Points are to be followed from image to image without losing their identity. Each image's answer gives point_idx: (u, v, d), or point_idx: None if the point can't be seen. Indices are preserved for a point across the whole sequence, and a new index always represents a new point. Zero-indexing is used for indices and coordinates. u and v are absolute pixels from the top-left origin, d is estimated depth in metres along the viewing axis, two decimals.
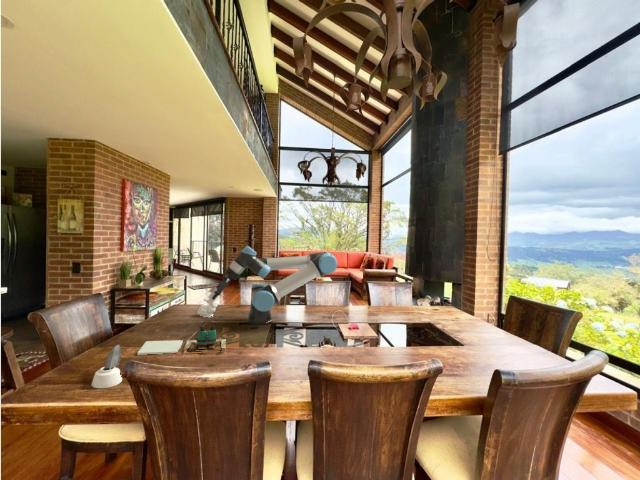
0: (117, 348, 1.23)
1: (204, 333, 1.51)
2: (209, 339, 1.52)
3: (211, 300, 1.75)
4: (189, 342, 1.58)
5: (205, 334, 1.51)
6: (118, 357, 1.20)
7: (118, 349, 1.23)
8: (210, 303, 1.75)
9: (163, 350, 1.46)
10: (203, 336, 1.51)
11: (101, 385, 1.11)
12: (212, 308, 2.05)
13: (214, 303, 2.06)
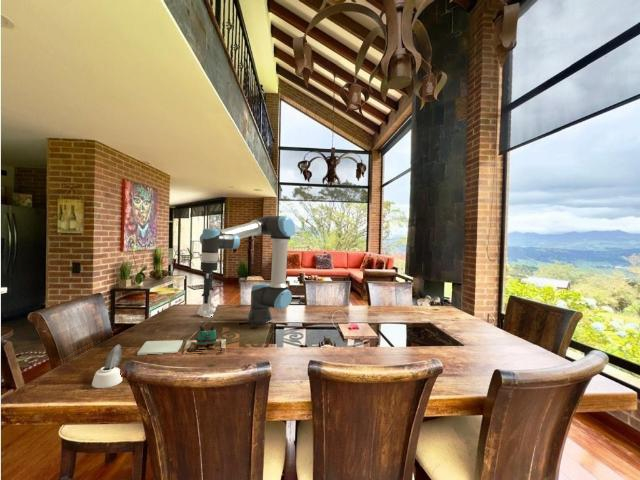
0: (117, 348, 1.23)
1: (204, 333, 1.51)
2: (209, 339, 1.52)
3: (205, 305, 1.48)
4: (189, 342, 1.58)
5: (205, 334, 1.51)
6: (119, 357, 1.20)
7: (118, 349, 1.23)
8: (207, 308, 1.48)
9: (163, 350, 1.46)
10: (203, 336, 1.51)
11: (101, 385, 1.12)
12: (212, 308, 2.05)
13: (214, 303, 2.06)
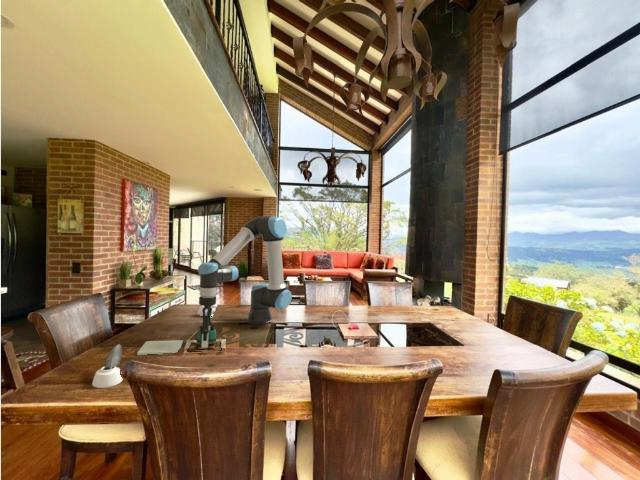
0: (118, 348, 1.23)
1: None
2: (209, 339, 1.52)
3: (204, 342, 1.49)
4: (189, 342, 1.58)
5: None
6: (119, 357, 1.20)
7: (119, 349, 1.23)
8: (206, 345, 1.50)
9: (163, 350, 1.46)
10: None
11: (101, 384, 1.12)
12: (212, 308, 2.05)
13: None
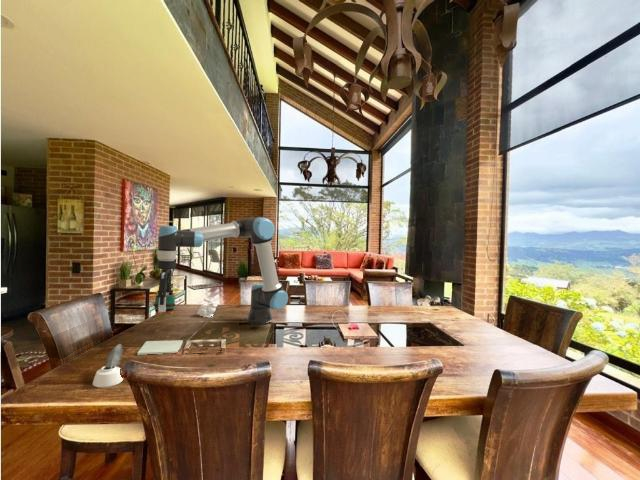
0: (118, 347, 1.23)
1: None
2: (167, 304, 1.46)
3: (161, 306, 1.44)
4: (189, 342, 1.58)
5: None
6: (119, 357, 1.20)
7: (119, 348, 1.23)
8: (163, 310, 1.44)
9: (163, 350, 1.46)
10: None
11: (102, 384, 1.12)
12: (212, 308, 2.05)
13: (214, 303, 2.06)
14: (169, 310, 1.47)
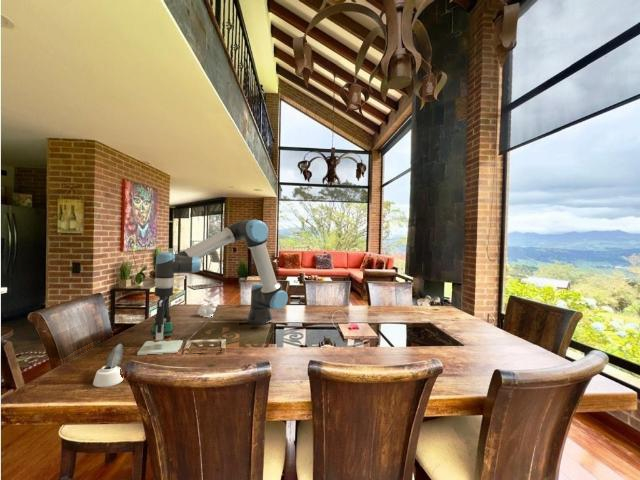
0: (119, 347, 1.23)
1: None
2: (164, 331, 1.47)
3: (159, 334, 1.44)
4: (189, 342, 1.58)
5: None
6: (120, 357, 1.21)
7: (120, 348, 1.23)
8: (160, 338, 1.45)
9: (163, 350, 1.46)
10: None
11: (102, 384, 1.12)
12: (212, 308, 2.05)
13: (214, 303, 2.06)
14: (167, 337, 1.47)
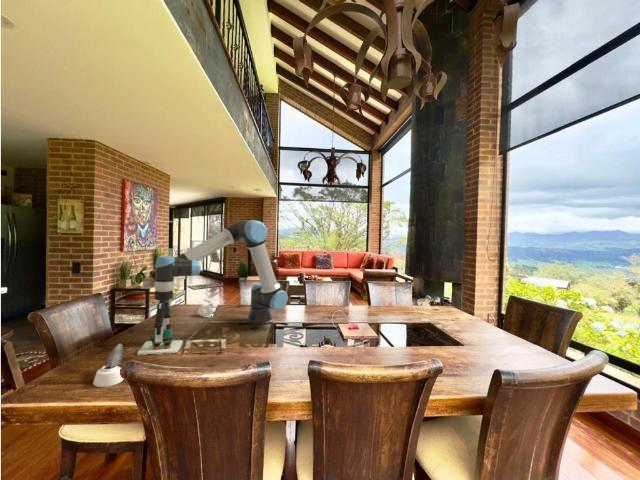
0: (119, 347, 1.24)
1: None
2: (164, 338, 1.47)
3: (158, 336, 1.43)
4: (189, 342, 1.58)
5: None
6: (120, 356, 1.21)
7: (120, 348, 1.24)
8: (159, 340, 1.43)
9: (163, 350, 1.46)
10: None
11: (102, 384, 1.12)
12: (212, 308, 2.05)
13: (214, 303, 2.06)
14: (166, 344, 1.48)
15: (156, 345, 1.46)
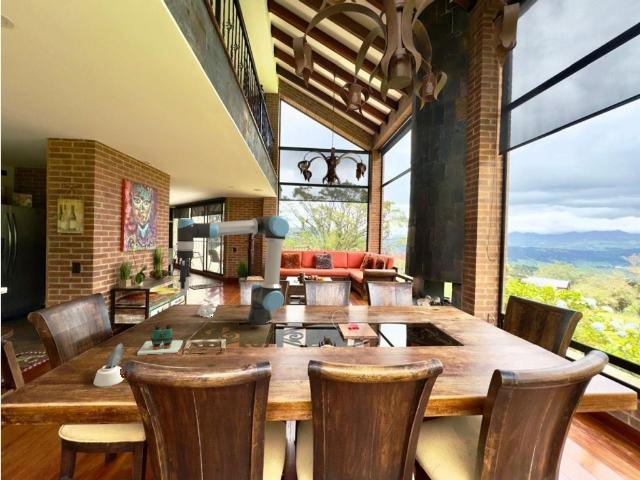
0: (119, 347, 1.24)
1: (159, 332, 1.46)
2: (164, 338, 1.47)
3: (182, 290, 1.58)
4: (189, 342, 1.58)
5: (160, 333, 1.46)
6: (120, 356, 1.21)
7: (120, 348, 1.24)
8: (184, 293, 1.58)
9: (163, 350, 1.46)
10: (158, 335, 1.46)
11: (102, 383, 1.13)
12: (212, 308, 2.05)
13: (214, 303, 2.06)
14: (167, 344, 1.48)
15: (156, 345, 1.46)
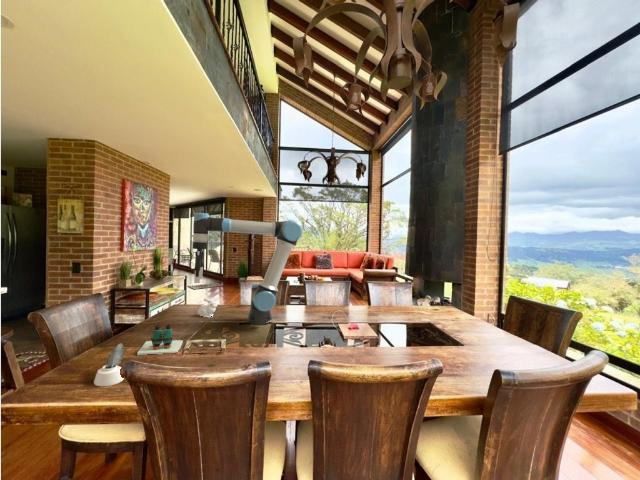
0: (119, 347, 1.24)
1: (159, 332, 1.46)
2: (164, 338, 1.47)
3: (197, 278, 1.72)
4: (189, 342, 1.58)
5: (160, 333, 1.46)
6: (120, 356, 1.21)
7: (120, 348, 1.24)
8: (198, 281, 1.72)
9: (163, 350, 1.46)
10: (158, 335, 1.46)
11: (103, 383, 1.13)
12: (212, 308, 2.05)
13: (214, 303, 2.06)
14: (166, 344, 1.48)
15: (156, 345, 1.46)
